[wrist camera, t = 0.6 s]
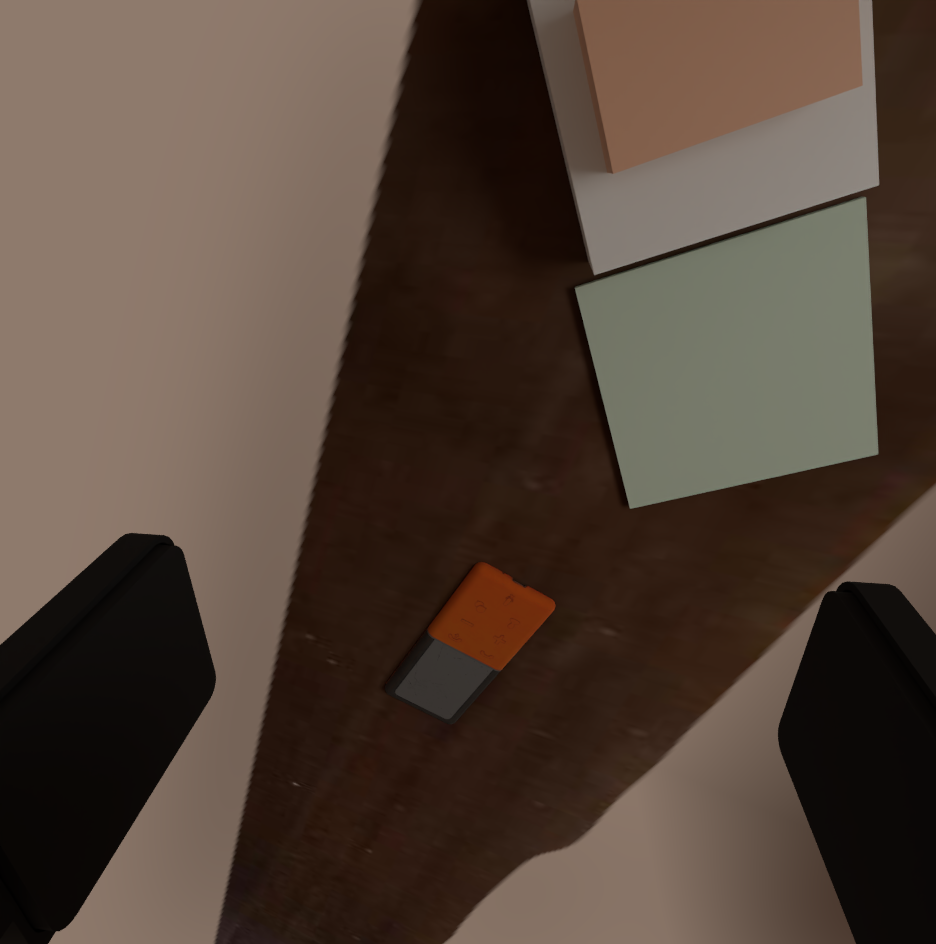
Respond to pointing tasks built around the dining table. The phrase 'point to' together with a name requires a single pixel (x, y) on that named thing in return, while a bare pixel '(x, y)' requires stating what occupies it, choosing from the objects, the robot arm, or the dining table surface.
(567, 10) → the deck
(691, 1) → the salmon rectangular block
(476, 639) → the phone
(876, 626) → the robot arm
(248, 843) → the dining table surface
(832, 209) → the mat
